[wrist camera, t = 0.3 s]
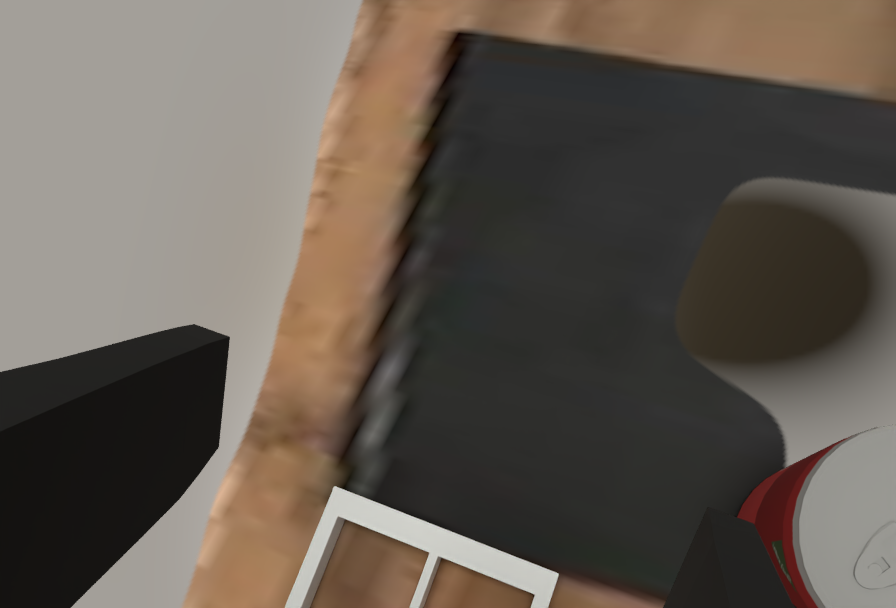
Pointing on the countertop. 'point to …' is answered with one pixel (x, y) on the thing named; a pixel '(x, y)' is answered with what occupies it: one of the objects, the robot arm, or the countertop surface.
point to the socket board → (419, 536)
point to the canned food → (833, 523)
